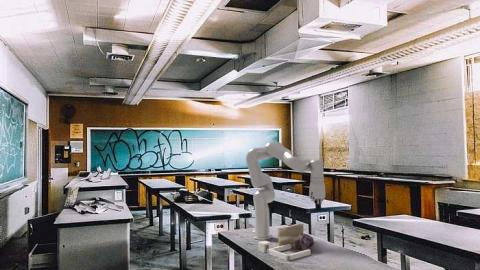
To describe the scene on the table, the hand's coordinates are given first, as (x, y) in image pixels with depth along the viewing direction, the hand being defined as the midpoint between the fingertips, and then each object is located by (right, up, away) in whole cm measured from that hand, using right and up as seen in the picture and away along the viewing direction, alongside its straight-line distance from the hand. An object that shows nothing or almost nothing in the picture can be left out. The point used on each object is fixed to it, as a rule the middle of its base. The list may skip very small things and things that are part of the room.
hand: (318, 210), depth 230 cm
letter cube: (-33, -22, -8) cm, 41 cm away
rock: (-9, -22, -8) cm, 25 cm away
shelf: (-16, -22, +1) cm, 27 cm away
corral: (-19, -22, -15) cm, 33 cm away
